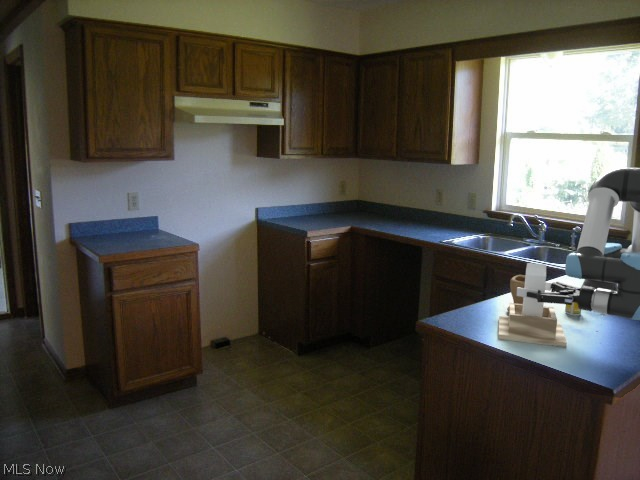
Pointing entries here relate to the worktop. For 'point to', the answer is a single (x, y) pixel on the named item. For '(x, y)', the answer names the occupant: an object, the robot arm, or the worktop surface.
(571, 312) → the supplement bottle
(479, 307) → the worktop surface
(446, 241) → the worktop surface
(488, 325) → the worktop surface
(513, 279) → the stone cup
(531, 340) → the wooden stepped stand
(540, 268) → the milk
